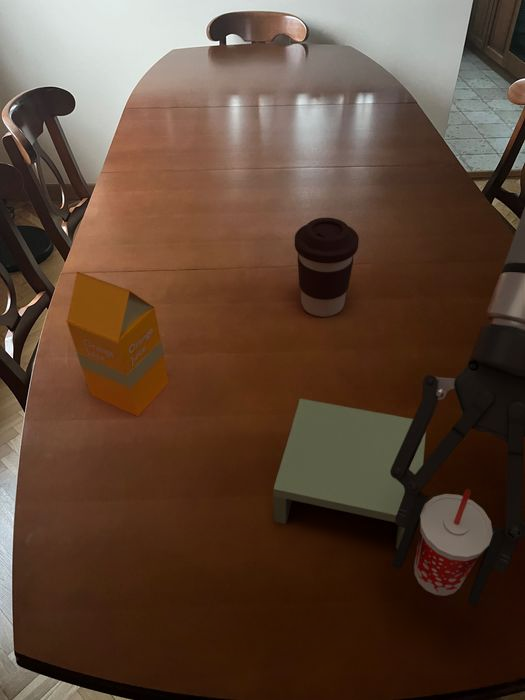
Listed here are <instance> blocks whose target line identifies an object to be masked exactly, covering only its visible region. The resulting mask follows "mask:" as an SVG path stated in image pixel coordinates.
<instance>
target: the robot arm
mask: <svg viewBox="0 0 525 700" xmlns="http://www.w3.org/2000/svg"><path fill="white" fill-rule="evenodd" d="M485 315H486V317H487V319H488V320H489V321H490V322H489V323H484V325H482V326H480V329H479V331H478V334H477V336H476V339H475V342H474V345H473V347H472V350H471V353H470V356H469V358H468V361H467V363H466V365H465V367H464V369H462V371H461V372H460V373H459V374H457V375H456V377H455V378H454V377H443V376H442V377H439V376H435V375H433V374H427V375H426V376H424V377H423V380H422V393H421V400H420V403H419V405H418V408H417V409H416V412H415V414H414V417H413V418H412V419H413V421H412V423H411V425H410V428H409V430H408V432H407V434H406V436H405V439H404V441H403V443H402V445H401V448H400V450H399V452H398V454H397V456H396V459H395V461H394V463H393V465H392V468H391V470H390V474H391V476H392V477H393V478H395V479H397V480H398V481H399V482H400V483H401V484H402V485H403V486H404V489H405V493H404V496H403V499H402V501H401V504H400V507H399V510H398V512H397V515H396V518H395V522H394V524H395V525H396V526H397V527H398V526H400V527H403V528H405V531H404V534H403V536H402V539H401V542H400V544H399V547H398V549H396V553H395V555H394V557H393V561H392V564H391V566H392V567H393V568H395V569H397V570H399V571H400V570H401V569H402V567H403V565H404V563H405V561H406V558H407V556H408V554H409V552H410V549H411V546H410V545H412V542H413V540H414V537H415V535H416V532H417V529H418V527H419V525H420V522H419V519H420V515H421V512H422V510H423V508H424V505H425V504H426V503H427V502H428V501H429V500H428V499H429V496H428V495H426V494H424V493H422V491H423V489H424V488H425V486H426V485H427V484H428V483H429V481H431V479H432V478H433V477H434V475H435V474H436V473H437V472H438V470H439V469H440V468H441V467H442V466H443V464H444V463H445V462H446V460H447V459H448V458H449V457H450V456H451V455H452V453H453V452H454V451H455V449H457V448H458V446H459V445H460V444H461V442H462V441H463V440H464V438H465V437H466V436H467V435H468V434H469V433H470V431H471V430H474V431H477V432H480V433H489V434H491V435H493V436H494V437H495V438H496V439H499V440H502V441H503V442H507V444H506V447H507V448H506V451H507V452H506V490H505V491H506V492H505V494H506V495H505V524H504V527H503V528H502V527H500V526H498V525H496V524H494V527H493V528H492V532H493V535H492V538H491V541H490V544H489V546H488V547H487V550H486V551H484V552H483V556H482V559H481V561H480V563H479V567H478V569H477V572H476V574H475V577H474V580H473V583H472V585H471V588H470V591H469V593H468V599H467V604H469V605H471V606H473V607H474V608H477V607H478V605H479V602H480V599H481V597H482V594H483V592H484V589H485V586H486V584H487V581H488V579H489V576H490V573H491V571H492V570H494V571H496V572H499V573H502V574H504V573H505V572H506V570H507V569H508V568H509V565H510V562H511V559H512V557H513V554H514V552H515V549H516V546H517V544H518V542H519V541H520V540H521V539H523V538H525V519H523V488H524V487H523V485H524V484H523V483H524V453H525V452H524V450H525V207H524V209H523V210H522V213H521V217H520V219H519V222H518V225H517V228H516V230H515V233H514V236H513V239H512V242H511V244H510V248H509V251H508V253H507V256H506V259H505V262H504V264H503V269H502V272H501V273H500V274H499V277H498V279H497V282H496V285H495V287H494V291H493V293H492V296H491V299H490V302H489V304H488V307H487V310H486V312H485ZM451 391H455V394H456V397H457V400H458V403H459V407H460V410H461V414H462V415H461V416H460V418H459V419H458V420H457V422H455V424H454V425H453V426H452V428H451V429H450V431H449V432H447V434H446V435H445V436H444V438H443V439H442V440H441V441H440V442H439V444H438V445H437V447H436V448H435V449H434V450H433V451H432V453H431V454H430V455H429V456H428V457H427V459H426V460H425V461H424V462H423V465H422V466H421V468H420V469H419V470H418V471H417V473H416V474H414V473H412V472H411V471H410V470H409V467H410V465H411V463H412V461H413V458H414V456H415V454H416V452H417V450H418V447H419V445H420V443H421V441H422V439H423V436H424V434H425V432H426V433H427V430H428V428H429V425H430V423H431V421H432V418H433V416H434V414H435V412H436V410H437V407H438V403H439V401H444V400H445V399H446V398H447V397H448V395H449V392H451ZM409 548H410V549H409ZM408 551H409V552H408Z"/></svg>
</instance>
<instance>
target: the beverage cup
mask: <svg viewBox="0 0 525 700" xmlns="http://www.w3.org/2000/svg"><path fill="white" fill-rule="evenodd" d="M471 494H472V490H471V489H470V488H466V489H465V491H464V493H463V495H460V494H452V493H444V494H440V495H436V496H433V497H432V498H430V499H429V500H427V502H426V504H425V505H424V508H423V510H422V512H421V515H420V519H419V536H418V541H417V547H416V553H415V559H414V564H413V569H414V570H413V571H414V576H415V578H416V580H417V582H418V584H419V585H420V586H421V587H422V588H423V589H424V590H425V591H426V592H429V593H431V594H433V595H434V596H443V597H446V596H449V595H453V594H455V593H456V592H457V591H458V590H459V589H460V588H461V586H462V584H463V583H464V581H465V580H466V578H467V577H468V575H469V573H470V571H471V570H472V568H473V567H474V565H475V564H476V561H477V560H478V558H479V557H480V556H481V555H483V554H484V553H485V551H486V550H487V547H488V546H489V544H490V541H491V538H492V535H493V528H492V521H491V519H490V517H489V516H488V515H487V513H486V511H485V510H484V508H482V507H481V506H480V505H479V504H477V503H476V502H475V501H474V500H473V499H470V496H471Z"/></svg>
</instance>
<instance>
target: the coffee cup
mask: <svg viewBox="0 0 525 700" xmlns="http://www.w3.org/2000/svg"><path fill="white" fill-rule="evenodd" d="M359 240H360V238H359V235H358V232H357V231H356V230H355V229H353V228H352V227H351V226H349V225H348V224H347V223H345V222H344V221H343V220H341V219H339V218H335V217H318V218H315V219H312V220H311V221H309V222H308V223H306V224H304V225H303V226H301V227H300V228H298V230H297V231H296V232H295V235H294V249H295V251H296V252H297V271H298V272H297V273H298V285H299V289H300V301H301V306H302V308H303V310H305V312H307V313H308V314H310V315H312V316H315V317H321V318H327V317H332V316H335V315H337V314H339V313H340V312H341V311H342V310H343V308H344V306H345V301H346V295H347V291H349V290H348V289H349V287H350V281H351V276H352V271H353V265H354V256H355V255H356V253H357V252H358V249H359V244H360V243H359V242H360V241H359Z"/></svg>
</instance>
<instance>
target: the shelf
mask: <svg viewBox="0 0 525 700" xmlns="http://www.w3.org/2000/svg"><path fill="white" fill-rule="evenodd" d="M413 419H414V418H409V417H403V416H398V415H394V414H393V415H392V414H388V413H382V412H378V411H377V412H376V411H372V410H365V409H360V408H356V407H355V408H354V407H349V406H343V405H338V404H332V403H327V402H321V401H317V400H310V399H305V398H299V401H298V404H297V407H296V410H295V414H294V418H293V420H292V424H291V428H290V430H289V434H288V438H287V441H286V444H285V448H284V452H283V455H282V458H281V462H280V464H279V469H278V472H277V475H276V479H275V482H274V485H273V490H272V491H273V522H276V523H280V524H284V525H285V524H286V525H287V521H288V518H289V516H290V515H289V514H290V511H291V506H292V503H293V502H298V503H299V502H300V503H303V504H309V505H313V506H317V507H323V508H327V509H331V510H337V511H339V512H340V511H341V512H345V513H351V514H355V515H359V516H363V517H368V518H373V519H377V520H381V521H387V522H391V523H395V518H396V515H397V512H398V510H399V507H400V504H401V501H402V499H403V496H404V493H405V489H404V486H403V485H402V484H401V483H400V482H399V481H398V480H397V479H395V478H393V477H392V476H391V474H390V470H391V468H392V465H393V463H394V461H395V459H396V456H397V454H398V452H399V450H400V448H401V445H402V443H403V441H404V439H405V436H406V434H407V432H408V430H409V428H410V425H411V423H412V421H413ZM426 436H427V431H426V432H425V434H424V436H423V439H422V441H421V443H420V445H419V447H418V450H417V452H416V454H415V456H414V458H413V461H412V463H411V465H410V467H409V470H410V471H411V472H412V473H414V474H416V473H417V471H418V470H419V469H420V468H421V466H422V465H423V464H424V459H425V448H426V447H425V446H426ZM404 531H405V528H403V527H400V526H398V525H397V533H396V543H395V550H398V547H399V544H400V542H401V539H402V536H403V534H404ZM411 545H412V544H411ZM411 545H410V548H409V551H408V553H409V552H410V549H411Z"/></svg>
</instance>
